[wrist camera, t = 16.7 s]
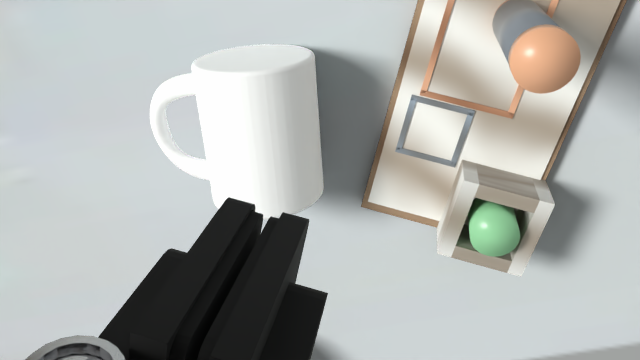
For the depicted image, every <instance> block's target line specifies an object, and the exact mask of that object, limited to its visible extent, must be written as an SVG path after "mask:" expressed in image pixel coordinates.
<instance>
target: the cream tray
mask: <svg viewBox="0 0 640 360" xmlns="http://www.w3.org/2000/svg"><path fill="white" fill-rule="evenodd" d="M505 1H507V0H418V2H417V6H416V9H415V13H414V17H413V20H412V24H411V27H410V31H409V35H408V38H407V42H406V45H405V49H404V53H403V56H402V60H401V64H400V67H399V71H398V74H397V78H396V82H395V85H394V89H393V92H392V96H391V100H390V103H389V107H388V111H387V114H386V118H385V121H384V125H383V129H382V132H381V136H380V139H379V143H378V147H377V150H376V154H375V158H374V161H373V165H372V168H371V172H370V176H369V179H368V183H367V186H366V190H365V194H364V197H363V201H362V205H361V207H364V208H367V209H371V210H375V211H378V212H382V213H386V214H389V215H393V216H397V217H400V218H404V219H408V220H411V221H415V222H419V223H422V224H426V225H430V226H433V227H437V254H441V255H444V256H448V257H451V258H455V259H459V260H462V261H466V262H469V263H473V264H477V265H480V266H484V267H488V268H491V269H495V270H498V271H502V272H506V273H509V274H513V275H517V276H520V277H521V276H522V274H523V272H524V270H525V268H526V266H527V263H528V261H529V259H530V257H531V255H532V253H533V251H534V249H535V246H536V244H537V242H538V240H539V238H540V236H541V234H542V232H543V230H544V227H545V225H546V223H547V221H548V219H549V217H550V215H551V213H552V210H553V208H554V206H555V203H554V200H553V198H552V195H551V193H550V190H549V188H548V185H547V183H546V178H547V176H548V174H549V172H550V169H551V167H552V165H553V163H554V160H555V158H556V156H557V154H558V152H559V149H560V147H561V145H562V143H563V141H564V138H565V136H566V134H567V132H568V129H569V127H570V125H571V123H572V121H573V118H574V116H575V114H576V112H577V109H578V107H579V105H580V103H581V101H582V98H583V96H584V94H585V92H586V90H587V87H588V85H589V83H590V81H591V78H592V76H593V74H594V72H595V70H596V67H597V65H598V63H599V61H600V59H601V56H602V54H603V52H604V50H605V47H606V45H607V43H608V41H609V39H610V36H611V34H612V32H613V30H614V28H615V25H616V23H617V21H618V19H619V16H620V14H621V12H622V10H623V8H624V5H625V3H626V1H627V0H532V1H533V2H535V3H536V4H537V5H538V6H539V7H540V8H541V9H542V10H543V11H544V12H545V13H546V14H547V15H548V16H549V17H550V18H551V19H552V20H553V21H554V22H555V23H556V24H557V25H558V26H560V27H561V28H562V29H564V30H565V31H566V32H567V33H568V34H569V35H571V36H572V37H573V38H574V40H575V41H576V42H577V44H578V46H579V49H580V55H581V59H580V65H579V68H578V71H577V73H576V74H575V76H574V77H573V79H572V80H571V81H570V82H569V83H568V84H567V85H565V86H564V87H562V88H561V89H559V90H556V91H554V92H550V93H543V94H539V93H533V92H529V91H527V90H525V89H524V88H522V87H521V86H520V85H519V84H518V83H517V82H516V81H515V79H514V77H513V75H512V73H511V71H510V68H509V64H508V62H507V60H506V58H505V56H504V53H503V51H502V49H501V47H500V45H499V43H498V41H497V39H496V37H495V34H494V32H493V27H492V23H493V18H494V15H495V12H496V10H497V9H498V7H499V6H500V5H501V4H502V3H504V2H505ZM475 198H479V199H482V200H486V201H490V202H494V203H497V204H501V205H505V206H509V207H512V208H514V212H515V215H516V219H517V223H518V227H519V231H520V240H519V243H518V245H517V246H516V248H515V249H514V250H512V251H511V252H510V253H508V254H506V255H503V256H497V257H492V256H486V255H483V254H481V253H480V252H478V251H477V250H476V249H475V248H474V247H473V246H472V244H471V241H470V234H469V224H468V212H469V210H470V207H471V205H472V202H473V200H474V199H475Z"/></svg>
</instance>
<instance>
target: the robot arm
mask: <svg viewBox="0 0 640 360" xmlns="http://www.w3.org/2000/svg"><path fill="white" fill-rule="evenodd" d="M262 222H263V214H261V213H257V212H255V204H252V203H248V202H244V201H241V200H237V199H234V198H230V197H228V198H227V199H226V200H225V201H224V203H223V204H222V206H221V207H220V208H219V210H218V211H217V213H216V214H215V215H214V217H213V218H212V219H211V221H210V222H209V224H208V225H207V226H206V228H205V229H204V231H203V232H202V233H201V235H200V236H199V238H198V239H197V240H196V242H195V243H194V244H193V246H192V247H191V249H190V250H189V251H188V253H186V252H182V251H179V250H175V249H169V250H167V251H166V252H165V253H164V254H163V256H162V257H161V258H160V259H159V261H158V262H157V263H156V264H155V266H154V267H153V268H152V270H151V271H150V272H149V273H148V275H147V276H146V277H145V278H144V280H143V281H142V282H141V284H140V285H139V286H138V287H137V289H136V290H135V291H134V292H133V294H132V295H131V296H130V298H129V299H128V300H127V301H126V303H125V304H124V305H123V306H122V308H121V309H120V310H119V311H118V313H117V314H116V315H115V317H114V318H113V319H112V320H111V322H110V323H109V324H108V325H107V327H106V328H105V329H104V331H103V332H102V333H101V334H100V336H99V337H98V338H97V337H94V336H78V335H77V336H71V337H65V338H61V339H58V340H55V341H53V342H50V343H48V344H45V345H44V346H42V347H41V348H39V349H38V350H36V351H35V352H33V353H32V354H31V355H30V356H29V357H27V358H26V359H25V360H310V358H311V354H312V351H313V347H314V343H315V340H316V336H317V332H318V329H319V325H320V321H321V317H322V314H323V310H324V306H325V302H326V298H327V295H328V293H325V292H322V291H319V290H315V289H312V288H308V287H305V286H301V285H298V284H295V282H296V278H297V273H298V269H299V265H300V260H301V256H302V251H303V247H304V243H305V238H306V234H307V229H308V225H309V219H306V218H302V217H299V216H295V215H291V214H288V213H284V212H283V213H282V214H281V216H280V218H275V217H272V216H271V217H270V218H269V220H268V221H267V223H266V225H265V227H264V229H263V231H262V233H261V228H262Z"/></svg>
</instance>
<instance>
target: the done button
mask: <svg viewBox="0 0 640 360" xmlns="http://www.w3.org/2000/svg"><path fill="white" fill-rule="evenodd" d="M468 224H469V234H470V241H471V244H472V246H473V247H474V248H475V249H476V250H477V251H478V252H480V253H481V254H483V255H486V256H492V257H497V256H503V255H506V254H508V253H510V252H511V251H512V250H514V249H515V248H516V246H517V245H518V243H519V240H520V231H519V227H518V223H517V219H516V215H515V212H514V208H512V207H509V206H505V205H501V204H497V203H494V202H490V201H486V200H482V199H479V198H475V199H474V200H473V202H472V205H471V207H470V210H469V212H468Z"/></svg>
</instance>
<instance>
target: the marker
mask: <svg viewBox="0 0 640 360" xmlns="http://www.w3.org/2000/svg"><path fill="white" fill-rule="evenodd" d="M492 27H493V32H494V34H495V37H496V39H497V41H498V43H499V45H500V47H501V49H502V51H503V53H504V56H505V58H506V60H507V62H508V64H509V68H510V71H511V73H512V75H513V77H514V79H515V81H516V82H517V83H518V84H519V85H520V86H521V87H522V88H524V89H525V90H527V91H529V92H533V93H539V94H543V93H550V92H554V91H556V90H559V89H561V88H562V87H564V86H565V85H567V84H568V83H569V82H570V81H571V80H572V79H573V77H574V76H575V74H576V73H577V71H578V68H579V65H580V59H581V55H580V49H579V46H578V44H577V42H576V41H575V40H574V38H573V37H572V36H571V35H569V34H568V33H567V32H566V31H565V30H564V29H562V28H561V27H560V26H558V25H557V24H556V23H555V22H554V21H553V20H552V19H551V18H550V17H549V16H548V15H547V14H546V13H545V12H544V11H543V10H542V9H541V8H540V7H539V6H538V5H537V4H536V3H535V2H533V1H532V0H507V1H505V2H504V3H502V4H501V5H500V6H499V7H498V9H497V10H496V12H495V15H494V18H493V23H492Z"/></svg>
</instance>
